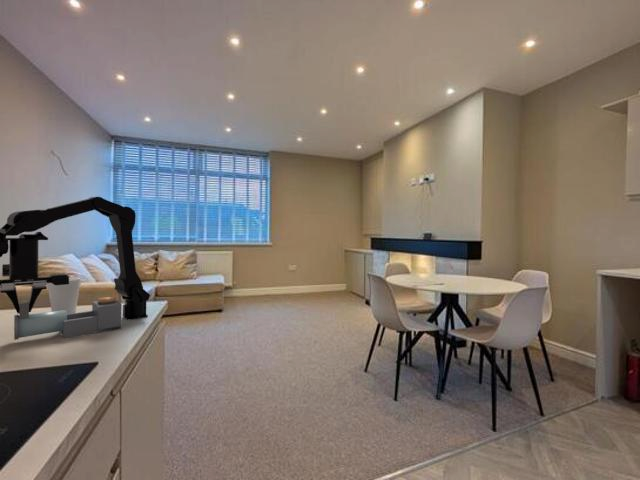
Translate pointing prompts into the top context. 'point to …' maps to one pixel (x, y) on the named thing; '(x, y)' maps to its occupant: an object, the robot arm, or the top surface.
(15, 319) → the cartridge
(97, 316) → the housing
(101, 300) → the plunger
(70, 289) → the foam cup
